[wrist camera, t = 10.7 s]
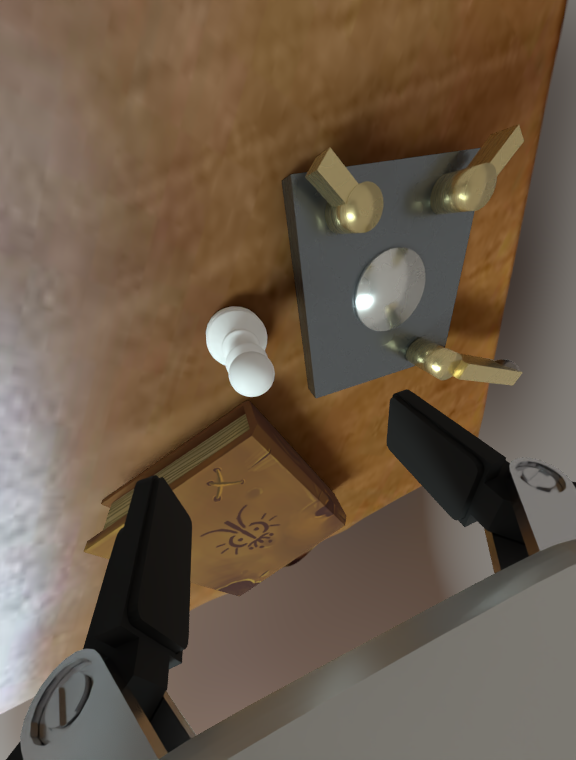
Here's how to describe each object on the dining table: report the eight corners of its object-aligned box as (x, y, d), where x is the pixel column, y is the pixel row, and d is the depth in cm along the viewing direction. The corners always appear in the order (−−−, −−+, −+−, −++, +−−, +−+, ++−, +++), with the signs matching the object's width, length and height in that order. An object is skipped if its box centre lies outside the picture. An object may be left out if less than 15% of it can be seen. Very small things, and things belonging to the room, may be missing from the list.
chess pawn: (274, 329, 22) (313, 374, 15) (240, 370, 23) (261, 431, 16) (229, 292, 20) (250, 324, 12) (193, 339, 20) (191, 396, 13)
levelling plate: (280, 171, 17) (307, 149, 13) (465, 146, 20) (536, 122, 16) (308, 388, 27) (328, 415, 23) (429, 350, 30) (466, 367, 26)
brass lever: (402, 361, 26) (438, 383, 22) (414, 336, 25) (455, 354, 21) (477, 371, 31) (518, 391, 27) (490, 351, 30) (534, 368, 26)
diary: (330, 487, 39) (349, 522, 34) (234, 552, 39) (239, 596, 34) (247, 395, 25) (259, 432, 21) (103, 496, 26) (82, 554, 21)
